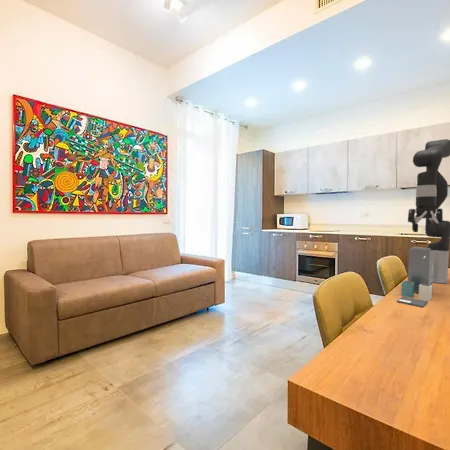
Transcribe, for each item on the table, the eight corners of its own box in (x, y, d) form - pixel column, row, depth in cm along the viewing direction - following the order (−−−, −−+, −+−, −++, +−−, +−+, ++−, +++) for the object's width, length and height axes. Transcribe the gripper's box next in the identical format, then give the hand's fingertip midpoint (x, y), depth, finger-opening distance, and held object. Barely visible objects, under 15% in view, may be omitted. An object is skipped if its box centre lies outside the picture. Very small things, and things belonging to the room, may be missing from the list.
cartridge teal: (403, 293, 131) (404, 279, 130) (413, 295, 128) (414, 281, 127) (401, 295, 128) (401, 281, 128) (411, 297, 125) (412, 283, 125)
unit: (410, 289, 139) (412, 246, 138) (430, 292, 134) (433, 248, 133) (407, 291, 135) (409, 247, 134) (427, 295, 129) (430, 249, 128)
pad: (402, 297, 124) (402, 296, 124) (427, 302, 118) (428, 301, 118) (396, 302, 118) (396, 300, 118) (422, 307, 112) (423, 305, 112)
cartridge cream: (420, 297, 126) (421, 282, 126) (431, 299, 123) (432, 284, 123) (418, 298, 123) (419, 284, 123) (429, 301, 120) (430, 286, 120)
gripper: (435, 195, 132) (433, 230, 134) (404, 196, 132) (403, 231, 133) (448, 195, 125) (446, 232, 126) (416, 195, 125) (414, 232, 126)
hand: (424, 231), depth 130 cm, fingers open, 8 cm apart
